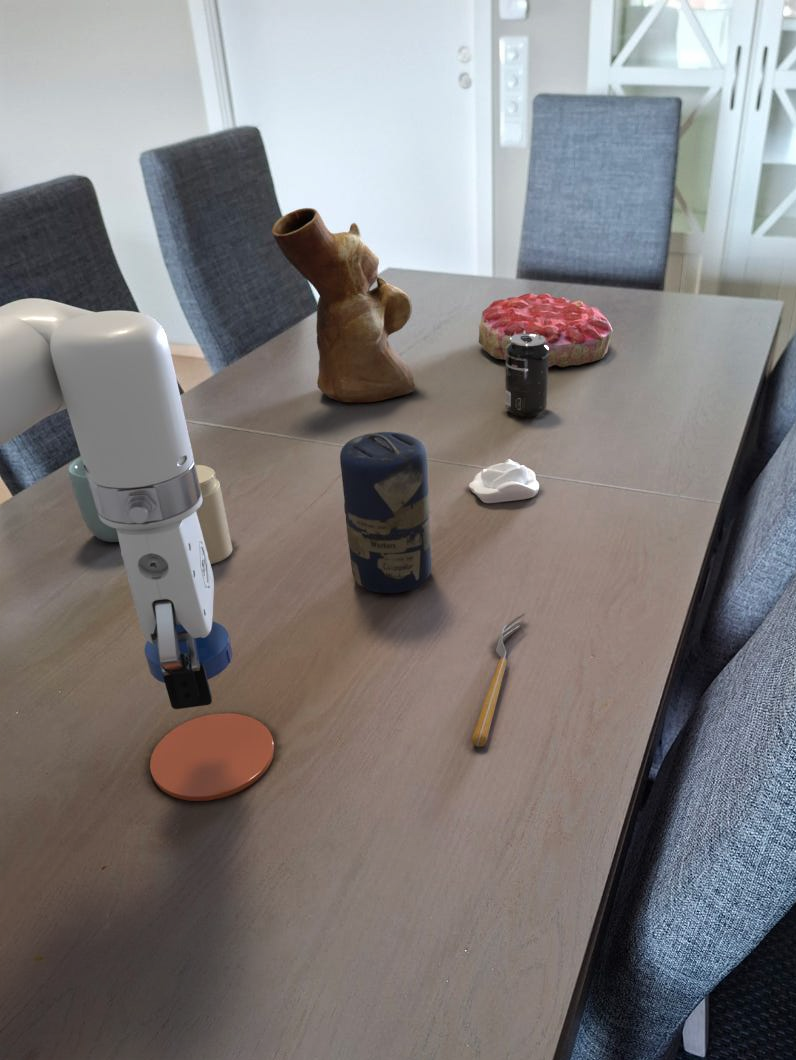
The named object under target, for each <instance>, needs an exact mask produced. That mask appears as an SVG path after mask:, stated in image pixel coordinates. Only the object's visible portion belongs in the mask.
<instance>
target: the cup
mask: <svg viewBox="0 0 796 1060" xmlns="http://www.w3.org/2000/svg"><path fill="white" fill-rule="evenodd" d="M67 470H68V471H67V474H68V477H69V482H70V484H71V488H72V491H73V494H74V497H75V501H76V503H77V504H76V505H77V506H78V509H79V512H80V515H81V517H82V519H83V522H84V523H85V525H86V527H87V529H88V531H89V532H90V533H91V534H92V535H93V537H95V538H97V539H98V540H100V541H104V542H107V543H119V539H118V534H117V530H116V528H112V527H109V526H107V525H106V524H104V523H103V522H102V521H101V520H100V519H99V516H98V512H97V509H96V506H95V502H94V499H93V496H92V492H91V489H90V485H89V482H88V479H87V475H86V472H85V468H84V465H83V461H82V458H81V456H80V457H78V458H76V459H75V460H73V461H72V462H71V463H70V464H69V466H68V469H67Z"/></svg>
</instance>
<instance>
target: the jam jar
mask: <svg viewBox="0 0 796 1060" xmlns="http://www.w3.org/2000/svg"><path fill="white" fill-rule="evenodd" d="M195 466H196V471H197V475H198V480H199V485H200V489H201V494H202V504H201V506H200V508H198V509H197V511H196V513H197V516H198V520H199V524H200V527H201V531H202V535H203V539H204V542H205V546H206V550H207V553H208V557H209V561H210V564H211V565H213V564H216V563H220V562H222V561H224V560H225V559H227V558H228V557H230V556H231V554H232V553H233V542H232V538H231V532H230V528H229V523H228V518H227V511H226V508H225V502H224V497H223V492H222V487H221V483H220V481H219V480H218V479H217V478H216V471H215V470H214V469H213V468H212V467H210V466H207V465H203V464H195Z"/></svg>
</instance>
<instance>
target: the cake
mask: <svg viewBox="0 0 796 1060" xmlns="http://www.w3.org/2000/svg"><path fill="white" fill-rule="evenodd" d="M613 332H614V331H613V328H612V325H611V323H610V321H609V320H608V319H607V317H606V316H605V315H603V312H602V311H601V310H600V309H599V308H597V307H595V306H591V305H590V306H589V305H587V304H585V303H584V302H583V301H580V300H569V299H568V298H565V297H555V296H552V295H550V294H549V293H546V292H545V293H540V294H535V293H531V292H529V293H525V294H523V295H519V296H512V297H508V298H506V299H497V300H494V301H493V302H492V303H491V304H490V305H489V306H488V307H486V308H485V309H484V310H483V311H482V312H481V319H480V323H479V326H478V344H480V345H481V346H482V349H483V350H484V351H485V352H486V353H488V354H489V355H490V356H491V357H493V358H495V359H496V360H505V361H506V347H507V346H508V345H509V344H510V342H511V341H510V338H511V337H512V336H513V335H516V334H522V333H533V334H539V335H542V336H544V337H545V344H546V345H547V346H548V347H549V364H548V368H550V367H553V366H555V365H556V366H558V367H560V368H566V367H568V366H580V365H583V364H586V363H593V362H595V361H600V360H603V358H604V357H605V355H606V354H607V353H608V351H609V345H610V343H611V342H610V341H611V338H612V334H613Z"/></svg>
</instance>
